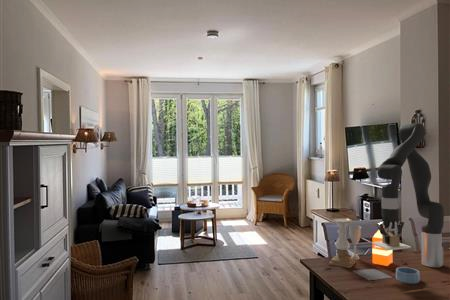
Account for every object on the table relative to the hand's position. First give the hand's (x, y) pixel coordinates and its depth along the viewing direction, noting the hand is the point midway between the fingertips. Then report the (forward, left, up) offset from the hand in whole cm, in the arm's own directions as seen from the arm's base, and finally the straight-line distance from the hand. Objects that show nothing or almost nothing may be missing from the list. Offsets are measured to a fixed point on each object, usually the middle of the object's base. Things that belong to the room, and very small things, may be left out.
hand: (390, 243), depth 173 cm
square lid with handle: (0, 0, -1) cm, 1 cm away
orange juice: (-11, -19, -17) cm, 27 cm away
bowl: (-5, +5, -17) cm, 18 cm away
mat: (+6, -6, -17) cm, 19 cm away
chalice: (-2, -30, -17) cm, 34 cm away
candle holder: (+10, -24, -17) cm, 31 cm away
